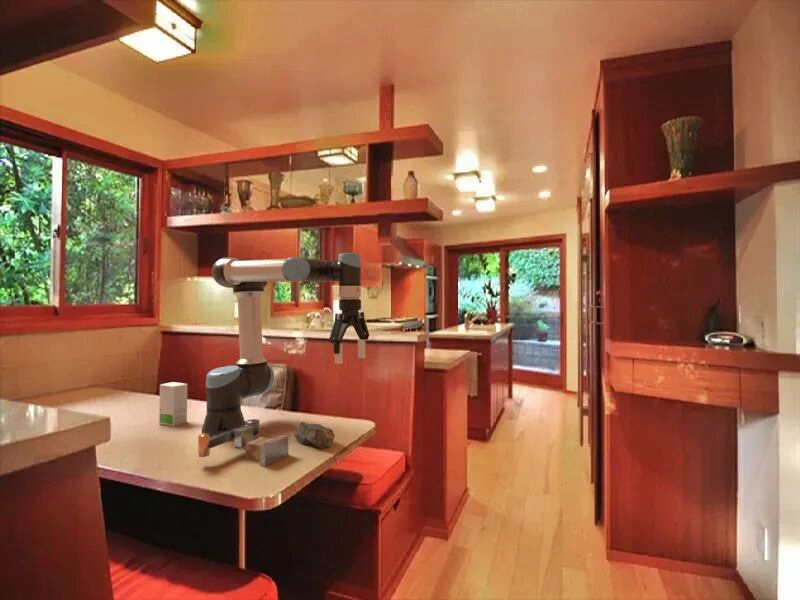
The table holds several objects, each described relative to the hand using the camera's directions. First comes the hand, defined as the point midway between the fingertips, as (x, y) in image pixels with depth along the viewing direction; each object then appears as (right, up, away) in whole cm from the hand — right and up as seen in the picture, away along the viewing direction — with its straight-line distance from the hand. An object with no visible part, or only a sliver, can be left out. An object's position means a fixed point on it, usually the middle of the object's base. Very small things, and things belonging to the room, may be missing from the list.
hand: (350, 360), depth 148 cm
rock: (-12, -28, -2) cm, 30 cm away
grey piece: (-28, -28, -10) cm, 41 cm away
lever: (-35, -25, -12) cm, 45 cm away
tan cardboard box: (-27, -28, -14) cm, 41 cm away
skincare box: (-73, -28, +23) cm, 81 cm away
